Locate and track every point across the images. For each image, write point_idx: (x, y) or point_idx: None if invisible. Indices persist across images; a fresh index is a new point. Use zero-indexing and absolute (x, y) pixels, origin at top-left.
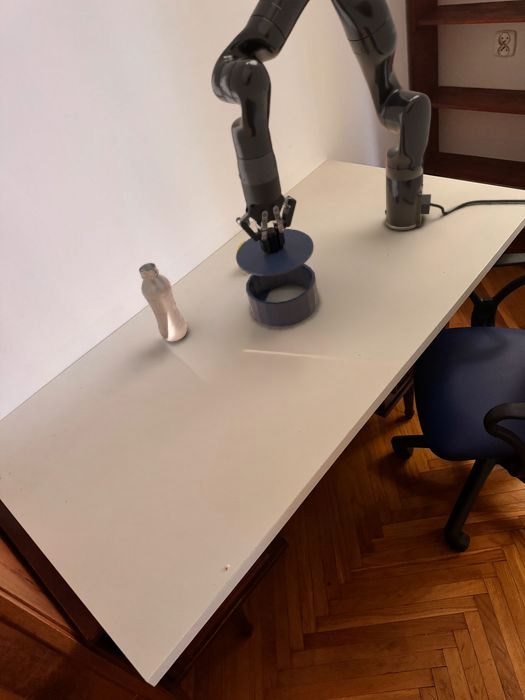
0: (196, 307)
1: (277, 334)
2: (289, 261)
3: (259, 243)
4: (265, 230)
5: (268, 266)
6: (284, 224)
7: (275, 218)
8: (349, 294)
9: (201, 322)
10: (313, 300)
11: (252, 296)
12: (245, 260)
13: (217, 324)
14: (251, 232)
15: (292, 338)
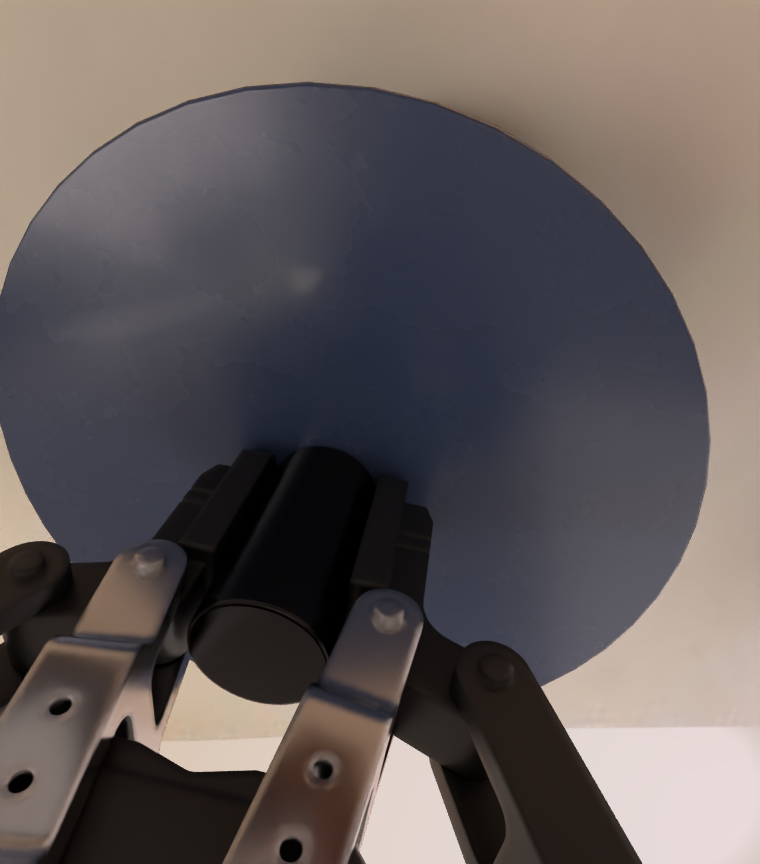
0: (668, 594)
1: (591, 144)
2: (335, 231)
3: None
4: (344, 693)
5: (533, 348)
6: (68, 601)
7: (88, 763)
8: (113, 93)
9: (737, 513)
10: None
11: None
12: (586, 577)
13: None
14: (559, 812)
15: (564, 38)
